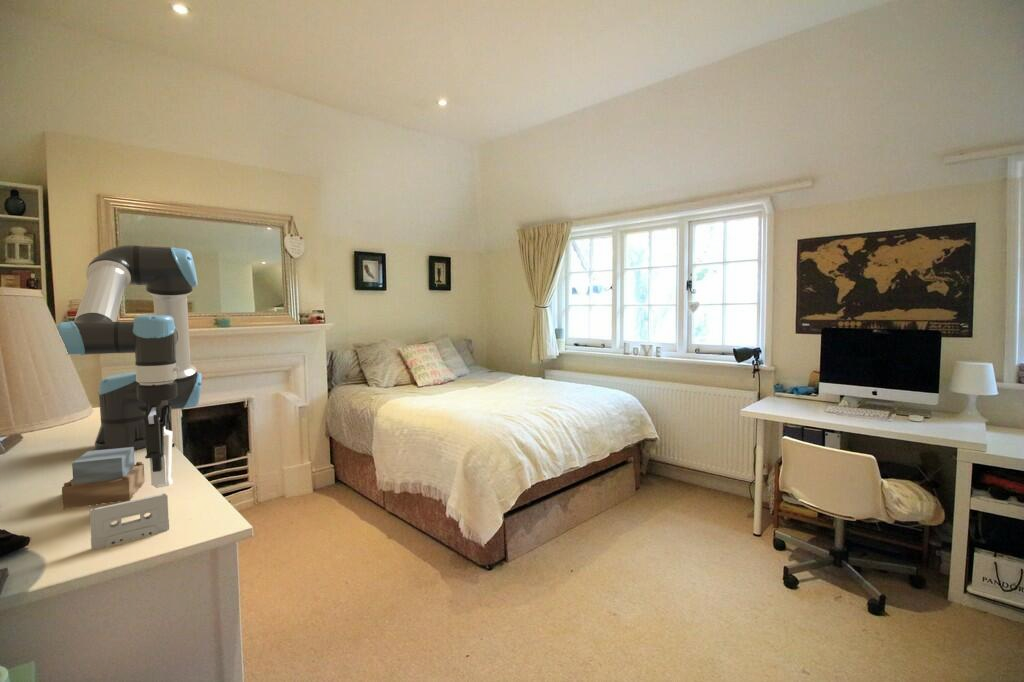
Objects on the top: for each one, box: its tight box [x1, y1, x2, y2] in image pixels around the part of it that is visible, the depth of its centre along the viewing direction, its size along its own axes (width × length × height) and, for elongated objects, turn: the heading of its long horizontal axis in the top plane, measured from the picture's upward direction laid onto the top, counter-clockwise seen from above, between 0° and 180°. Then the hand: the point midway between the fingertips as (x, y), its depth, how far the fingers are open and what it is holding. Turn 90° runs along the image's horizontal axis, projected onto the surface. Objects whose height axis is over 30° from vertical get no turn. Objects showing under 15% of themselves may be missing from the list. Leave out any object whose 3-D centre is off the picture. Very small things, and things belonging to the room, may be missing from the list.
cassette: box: [89, 493, 170, 550], centre depth 93 cm, size 12×2×8 cm, turn 132°
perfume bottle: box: [152, 427, 174, 489], centre depth 110 cm, size 5×4×15 cm
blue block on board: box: [61, 447, 145, 510], centre depth 113 cm, size 12×12×10 cm
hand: (161, 479), depth 111 cm, fingers closed on perfume bottle, 5 cm apart
